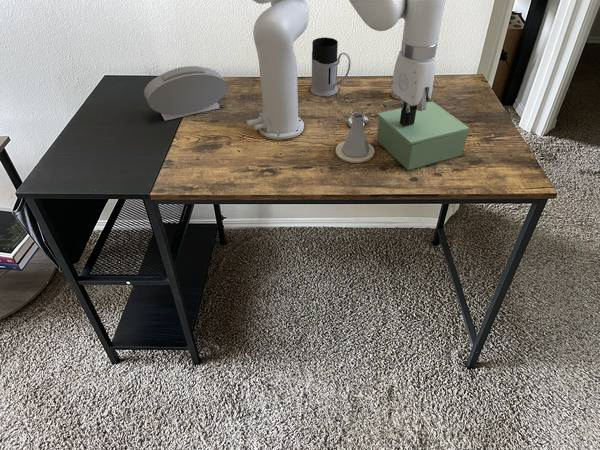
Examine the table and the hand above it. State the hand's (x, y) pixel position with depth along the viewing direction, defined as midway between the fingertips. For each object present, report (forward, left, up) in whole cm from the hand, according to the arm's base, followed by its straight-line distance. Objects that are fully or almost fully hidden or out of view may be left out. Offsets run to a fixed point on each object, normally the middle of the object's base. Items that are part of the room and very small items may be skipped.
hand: (406, 123), depth 111 cm
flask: (-11, +5, -8) cm, 14 cm away
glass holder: (-2, +38, -8) cm, 39 cm away
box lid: (+5, 0, -1) cm, 5 cm away
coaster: (-11, +5, -8) cm, 15 cm away
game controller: (-4, +20, -8) cm, 22 cm away
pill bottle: (+16, +27, -8) cm, 32 cm away
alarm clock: (-45, +45, -8) cm, 64 cm away
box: (+5, 0, -8) cm, 9 cm away
